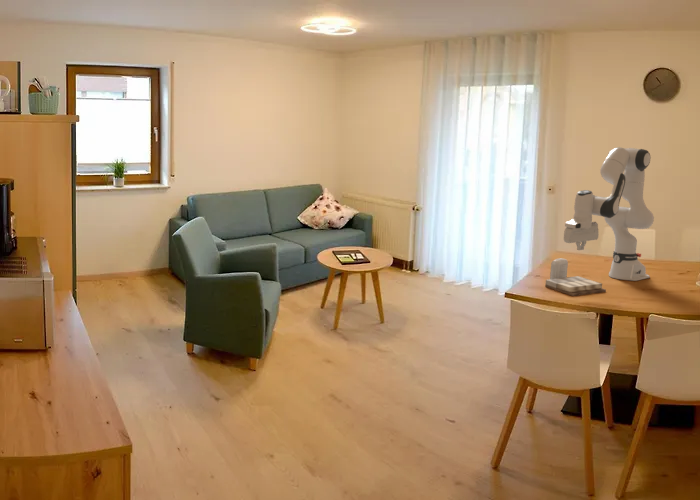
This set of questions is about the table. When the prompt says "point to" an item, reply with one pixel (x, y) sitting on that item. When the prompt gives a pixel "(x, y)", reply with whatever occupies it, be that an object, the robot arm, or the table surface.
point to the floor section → (553, 282)
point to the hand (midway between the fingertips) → (580, 249)
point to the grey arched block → (559, 268)
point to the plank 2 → (590, 284)
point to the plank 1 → (571, 286)
